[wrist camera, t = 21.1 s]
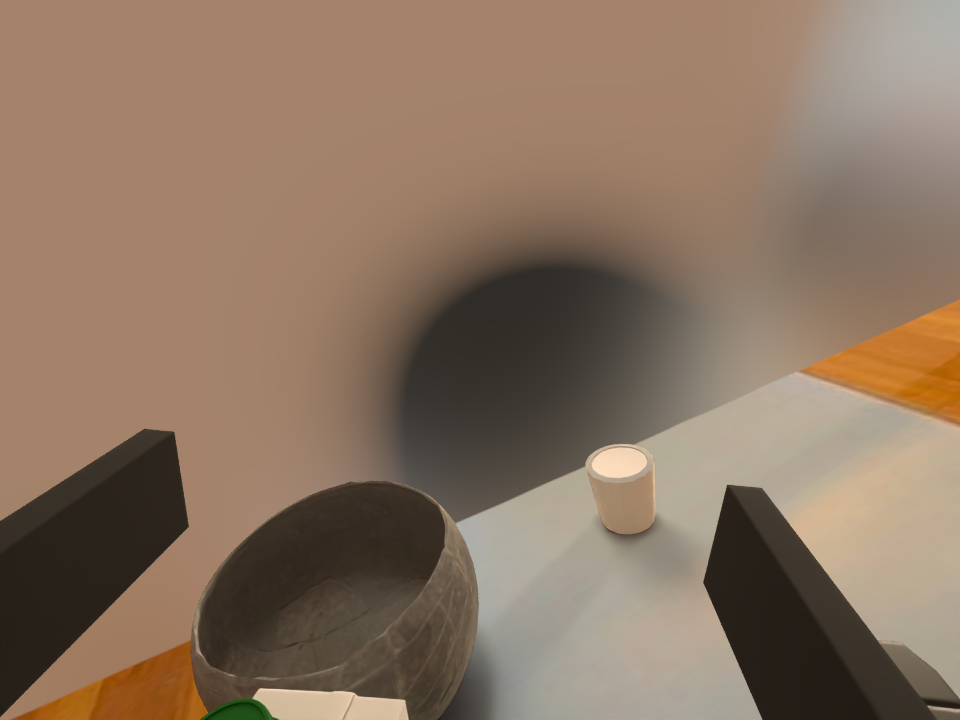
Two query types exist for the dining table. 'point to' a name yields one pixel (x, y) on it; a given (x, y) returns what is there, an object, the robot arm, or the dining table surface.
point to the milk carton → (309, 707)
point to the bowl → (342, 603)
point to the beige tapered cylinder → (623, 487)
